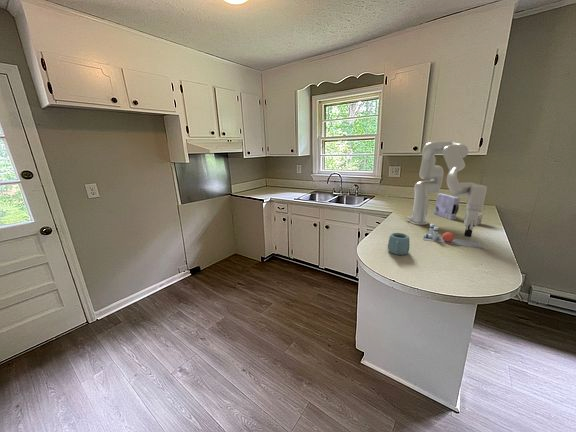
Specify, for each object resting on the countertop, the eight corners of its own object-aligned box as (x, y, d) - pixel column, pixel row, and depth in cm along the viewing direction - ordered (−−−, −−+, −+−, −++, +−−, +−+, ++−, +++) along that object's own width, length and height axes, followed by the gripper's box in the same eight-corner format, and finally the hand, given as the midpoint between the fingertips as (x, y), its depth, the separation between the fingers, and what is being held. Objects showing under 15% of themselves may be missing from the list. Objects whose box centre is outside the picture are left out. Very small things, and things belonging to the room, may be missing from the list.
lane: (423, 239, 151) (423, 239, 151) (423, 234, 159) (423, 234, 159) (483, 248, 136) (483, 248, 136) (480, 242, 145) (480, 242, 144)
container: (475, 225, 174) (479, 208, 170) (463, 222, 181) (467, 205, 177) (481, 223, 177) (484, 206, 174) (469, 221, 184) (472, 204, 180)
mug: (406, 261, 124) (408, 243, 121) (383, 256, 130) (385, 239, 127) (409, 250, 136) (412, 233, 134) (389, 246, 142) (390, 230, 139)
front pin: (439, 239, 149) (423, 237, 153) (438, 239, 152) (423, 237, 155) (439, 235, 150) (424, 233, 153) (439, 235, 152) (423, 233, 155)
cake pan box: (457, 219, 188) (461, 197, 183) (451, 220, 187) (455, 198, 182) (438, 213, 206) (441, 193, 201) (433, 213, 205) (436, 193, 200)
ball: (447, 234, 142) (457, 239, 142) (446, 228, 147) (455, 233, 146) (440, 240, 146) (449, 245, 146) (439, 234, 151) (448, 239, 150)
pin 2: (432, 240, 149) (434, 227, 147) (431, 239, 151) (433, 226, 149) (436, 241, 148) (438, 228, 145) (436, 240, 150) (438, 227, 147)
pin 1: (428, 237, 154) (430, 224, 152) (428, 236, 157) (430, 223, 154) (432, 237, 153) (434, 225, 151) (432, 236, 155) (434, 224, 153)
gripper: (464, 202, 146) (458, 231, 151) (467, 209, 133) (461, 239, 139) (480, 204, 142) (473, 233, 148) (484, 210, 130) (477, 242, 135)
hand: (467, 236), depth 143 cm, fingers closed
